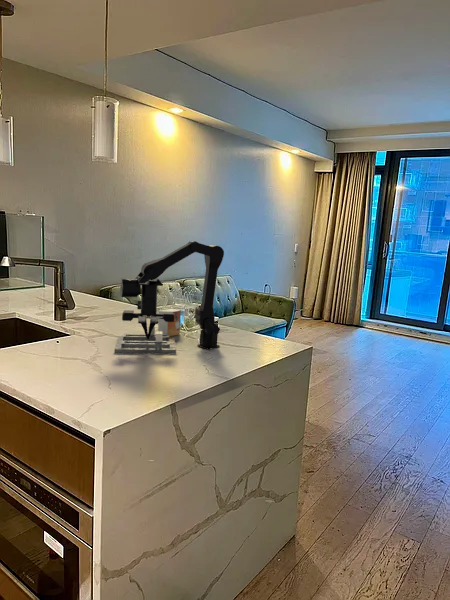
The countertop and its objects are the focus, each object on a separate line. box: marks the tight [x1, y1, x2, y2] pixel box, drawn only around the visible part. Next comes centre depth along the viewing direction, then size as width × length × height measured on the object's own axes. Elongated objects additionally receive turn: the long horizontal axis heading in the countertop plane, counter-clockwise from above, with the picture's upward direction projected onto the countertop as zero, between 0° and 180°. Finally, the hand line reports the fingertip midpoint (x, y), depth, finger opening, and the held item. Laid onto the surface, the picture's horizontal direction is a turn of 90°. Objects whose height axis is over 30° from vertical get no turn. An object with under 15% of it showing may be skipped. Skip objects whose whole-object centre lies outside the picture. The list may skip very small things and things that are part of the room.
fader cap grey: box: [147, 325, 156, 336], centre depth 180 cm, size 2×3×5 cm
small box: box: [157, 308, 182, 337], centre depth 193 cm, size 8×6×10 cm
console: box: [113, 333, 177, 355], centre depth 174 cm, size 22×19×3 cm
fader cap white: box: [155, 330, 162, 344], centre depth 170 cm, size 2×4×5 cm, turn 9°
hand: (147, 338), depth 170 cm, fingers closed
